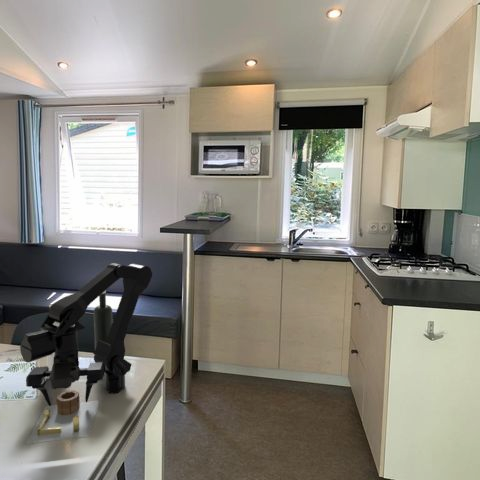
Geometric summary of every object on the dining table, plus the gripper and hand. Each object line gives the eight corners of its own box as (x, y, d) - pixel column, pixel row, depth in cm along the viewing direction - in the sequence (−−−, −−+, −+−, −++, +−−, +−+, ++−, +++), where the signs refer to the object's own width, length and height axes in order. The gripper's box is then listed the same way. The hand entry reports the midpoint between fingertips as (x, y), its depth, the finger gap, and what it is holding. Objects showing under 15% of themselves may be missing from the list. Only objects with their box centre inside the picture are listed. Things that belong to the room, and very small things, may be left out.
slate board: (46, 408, 103) (46, 405, 103) (99, 403, 106) (99, 400, 106) (26, 446, 88) (25, 443, 88) (89, 439, 90) (89, 436, 90)
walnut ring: (61, 405, 103) (60, 391, 103) (80, 403, 105) (80, 389, 104) (55, 415, 98) (55, 401, 98) (76, 413, 99) (76, 399, 99)
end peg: (74, 429, 93) (73, 416, 93) (80, 428, 93) (79, 415, 93) (72, 432, 92) (72, 419, 91) (78, 431, 92) (78, 418, 92)
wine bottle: (95, 367, 127) (92, 281, 124) (112, 364, 130) (110, 280, 126) (96, 374, 122) (93, 285, 118) (114, 371, 125) (112, 284, 121)
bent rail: (45, 416, 98) (45, 409, 98) (68, 414, 99) (68, 407, 99) (36, 435, 90) (35, 428, 90) (60, 432, 92) (60, 425, 91)
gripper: (16, 365, 90) (20, 425, 92) (98, 359, 93) (100, 417, 95) (31, 346, 100) (35, 400, 102) (104, 341, 104) (106, 394, 106)
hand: (68, 403), depth 101 cm, fingers open, 9 cm apart
